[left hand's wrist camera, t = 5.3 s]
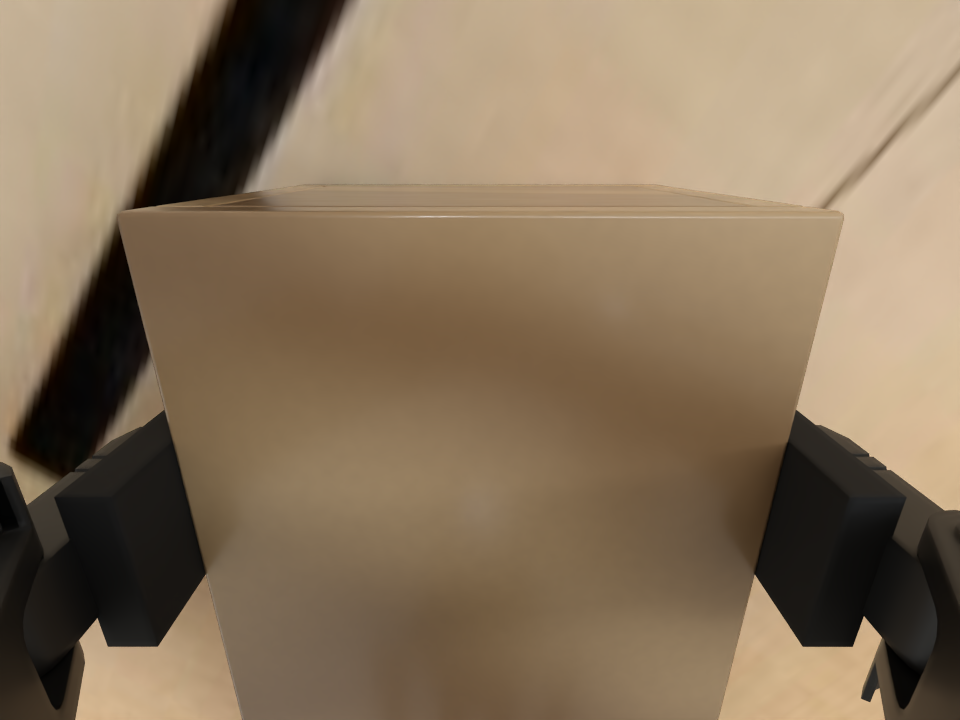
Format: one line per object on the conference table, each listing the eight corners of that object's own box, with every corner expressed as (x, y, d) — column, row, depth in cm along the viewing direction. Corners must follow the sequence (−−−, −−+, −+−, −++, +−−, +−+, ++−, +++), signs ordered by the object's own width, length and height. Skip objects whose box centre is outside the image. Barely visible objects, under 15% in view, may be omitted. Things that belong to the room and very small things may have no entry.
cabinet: (593, 710, 22) (651, 990, 15) (366, 710, 22) (308, 990, 15) (656, 184, 14) (849, 212, 7) (304, 184, 14) (112, 211, 7)
